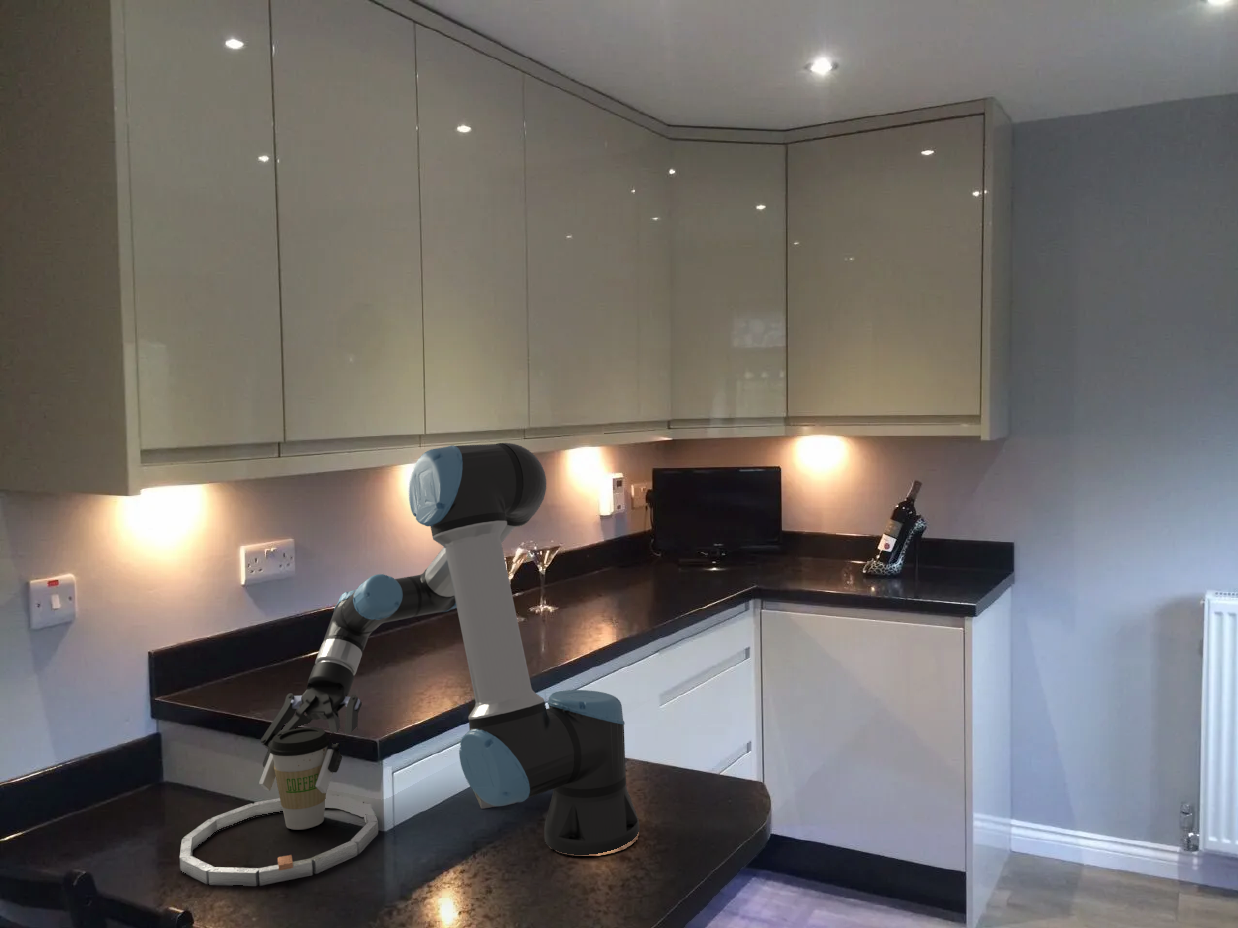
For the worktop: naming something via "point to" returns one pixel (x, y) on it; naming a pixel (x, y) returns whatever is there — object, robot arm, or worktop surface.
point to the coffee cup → (300, 775)
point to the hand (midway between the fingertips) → (292, 788)
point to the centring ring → (285, 864)
